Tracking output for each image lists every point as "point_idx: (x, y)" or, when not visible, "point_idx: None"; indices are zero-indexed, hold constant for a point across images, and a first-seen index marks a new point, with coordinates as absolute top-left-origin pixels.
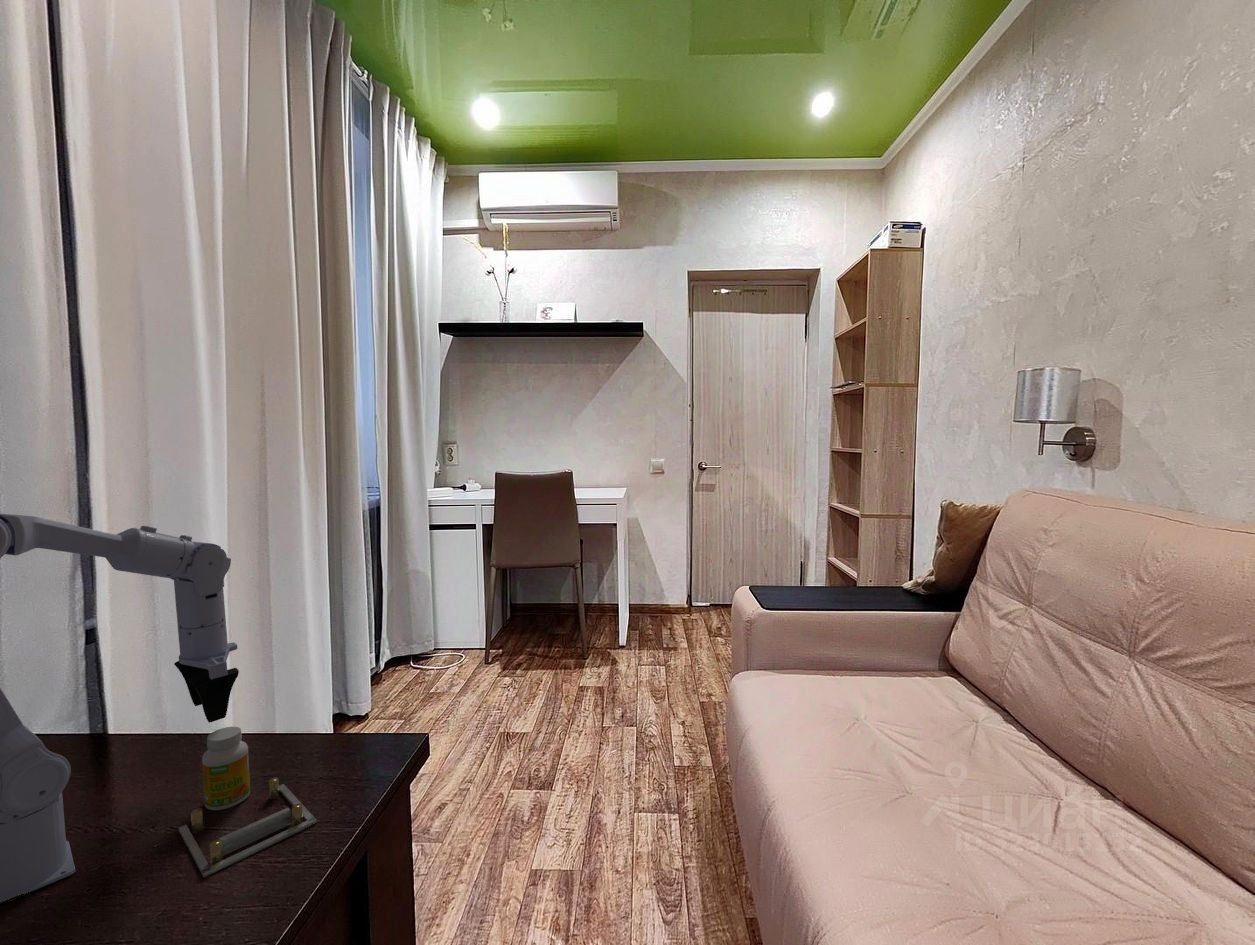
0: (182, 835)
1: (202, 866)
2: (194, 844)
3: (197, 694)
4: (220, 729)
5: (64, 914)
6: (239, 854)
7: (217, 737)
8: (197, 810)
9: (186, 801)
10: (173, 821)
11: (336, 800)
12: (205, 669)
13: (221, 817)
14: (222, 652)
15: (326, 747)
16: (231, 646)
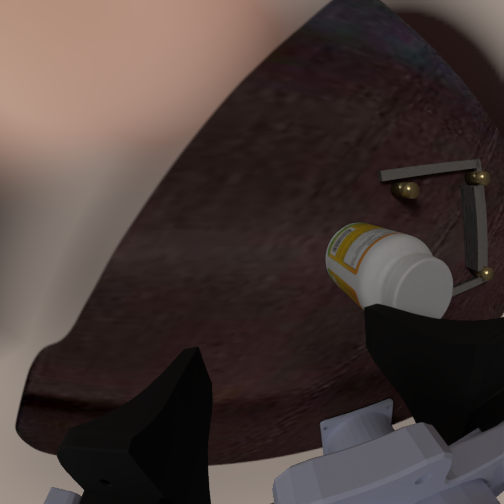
0: None
1: (478, 282)
2: None
3: (205, 402)
4: (398, 307)
5: None
6: (485, 247)
7: (434, 309)
8: None
9: (315, 314)
10: (362, 325)
11: (448, 121)
12: (181, 449)
13: None
14: (491, 474)
15: (270, 77)
16: (442, 481)
